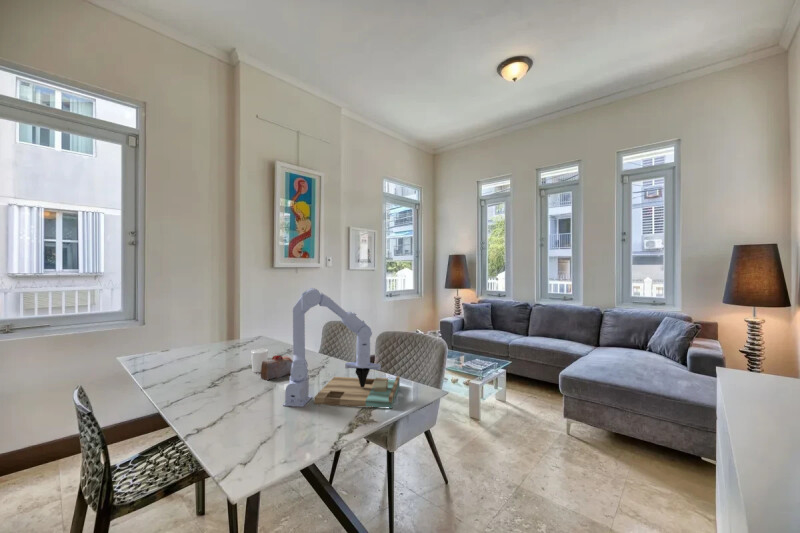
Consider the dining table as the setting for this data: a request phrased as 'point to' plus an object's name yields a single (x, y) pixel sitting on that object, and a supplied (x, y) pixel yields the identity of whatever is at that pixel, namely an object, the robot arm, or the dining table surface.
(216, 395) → the dining table surface
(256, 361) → the white cup
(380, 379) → the block
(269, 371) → the food item
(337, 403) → the track
